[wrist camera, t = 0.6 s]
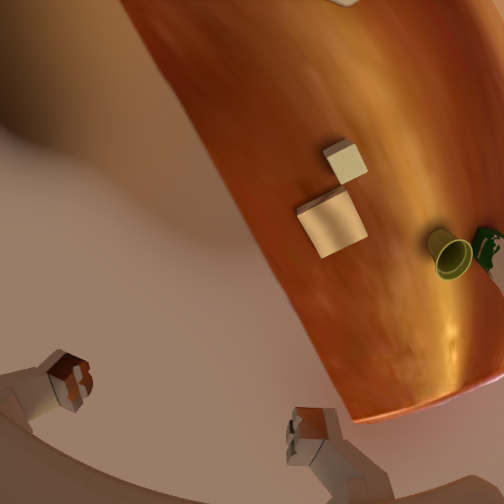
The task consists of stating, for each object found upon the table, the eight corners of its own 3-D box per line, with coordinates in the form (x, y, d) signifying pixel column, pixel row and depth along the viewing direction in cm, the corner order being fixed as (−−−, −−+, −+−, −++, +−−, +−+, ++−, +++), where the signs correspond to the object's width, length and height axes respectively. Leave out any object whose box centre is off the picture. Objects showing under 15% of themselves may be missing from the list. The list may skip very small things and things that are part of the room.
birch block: (342, 184, 49) (346, 190, 46) (363, 227, 53) (368, 236, 49) (296, 208, 53) (296, 215, 49) (320, 248, 56) (321, 258, 53)
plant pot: (413, 251, 53) (427, 273, 46) (433, 214, 48) (452, 232, 41) (441, 264, 53) (456, 286, 46) (460, 230, 49) (479, 249, 41)
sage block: (346, 138, 45) (354, 143, 39) (358, 162, 46) (368, 171, 40) (322, 150, 46) (326, 157, 40) (334, 174, 48) (341, 184, 42)
